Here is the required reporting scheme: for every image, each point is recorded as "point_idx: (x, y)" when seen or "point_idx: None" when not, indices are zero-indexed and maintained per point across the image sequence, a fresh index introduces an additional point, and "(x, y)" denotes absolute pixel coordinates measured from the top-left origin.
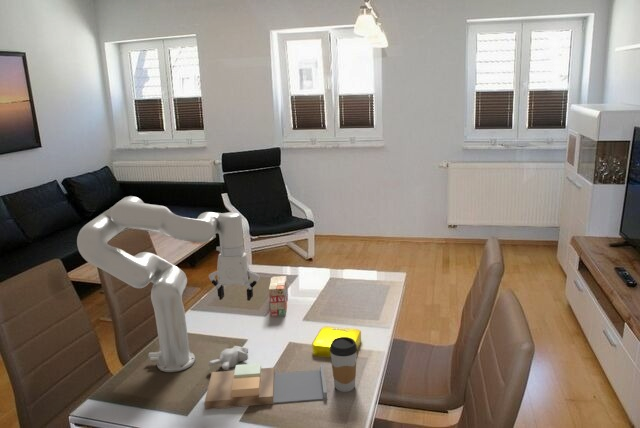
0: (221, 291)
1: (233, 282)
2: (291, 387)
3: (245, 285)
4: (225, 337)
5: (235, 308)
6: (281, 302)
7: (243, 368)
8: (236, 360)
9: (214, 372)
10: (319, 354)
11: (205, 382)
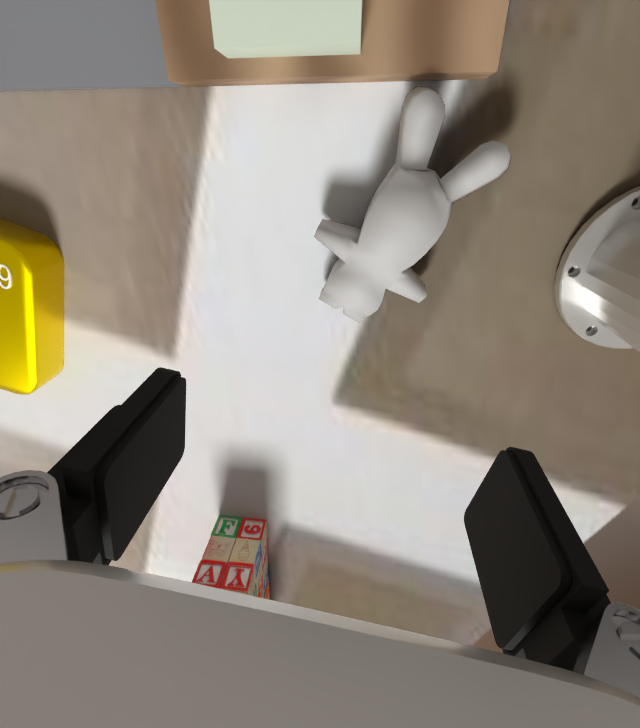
0: (530, 549)
1: (280, 695)
2: None
3: (63, 559)
4: (417, 427)
5: (384, 579)
6: (213, 560)
7: None
8: (367, 211)
9: (483, 64)
10: (22, 230)
11: (524, 45)
